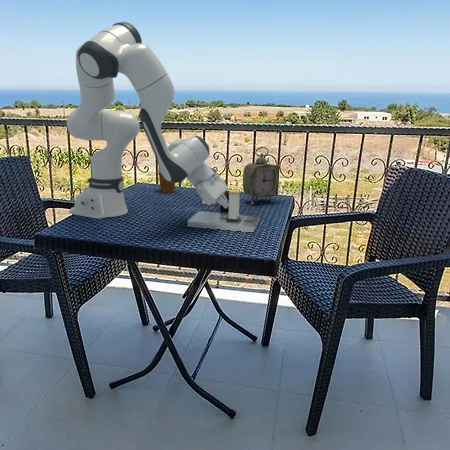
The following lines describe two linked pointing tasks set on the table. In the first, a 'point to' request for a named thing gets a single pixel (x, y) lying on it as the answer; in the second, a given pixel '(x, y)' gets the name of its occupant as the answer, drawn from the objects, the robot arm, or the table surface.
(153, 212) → the table surface
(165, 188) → the disposable coffee cup
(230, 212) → the fader tab
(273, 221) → the table surface
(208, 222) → the plate
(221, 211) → the digital camera
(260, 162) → the tabletop clock
